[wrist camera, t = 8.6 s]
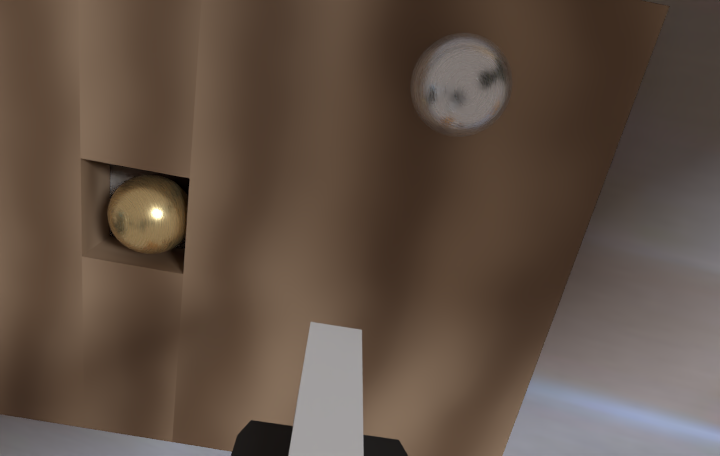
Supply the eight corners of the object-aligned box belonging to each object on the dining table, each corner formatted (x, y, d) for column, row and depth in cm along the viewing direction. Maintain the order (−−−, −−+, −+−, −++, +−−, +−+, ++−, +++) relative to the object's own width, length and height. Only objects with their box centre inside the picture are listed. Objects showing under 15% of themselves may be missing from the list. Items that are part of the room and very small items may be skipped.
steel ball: (398, 119, 20) (403, 135, 17) (418, 24, 19) (428, 21, 15) (484, 135, 20) (507, 154, 17) (510, 42, 19) (539, 44, 16)
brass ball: (159, 228, 25) (90, 245, 22) (161, 161, 24) (89, 169, 21) (206, 254, 24) (139, 275, 21) (212, 183, 22) (141, 195, 20)
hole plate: (22, 381, 28) (-10, 412, 26) (-12, -124, 19) (-65, -146, 17) (479, 456, 29) (488, 492, 27) (635, 9, 21) (669, 6, 18)
